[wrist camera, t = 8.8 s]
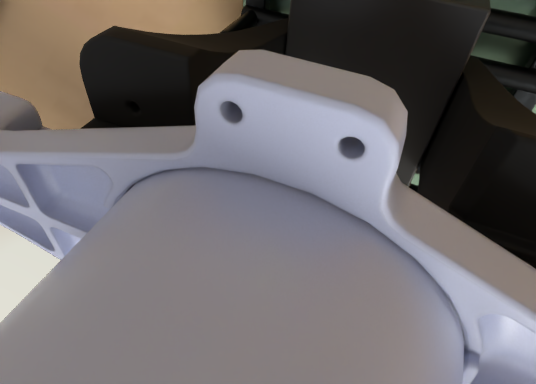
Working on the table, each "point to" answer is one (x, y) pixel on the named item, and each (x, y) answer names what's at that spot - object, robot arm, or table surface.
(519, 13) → the rack
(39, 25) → the table surface
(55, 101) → the table surface
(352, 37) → the black box
